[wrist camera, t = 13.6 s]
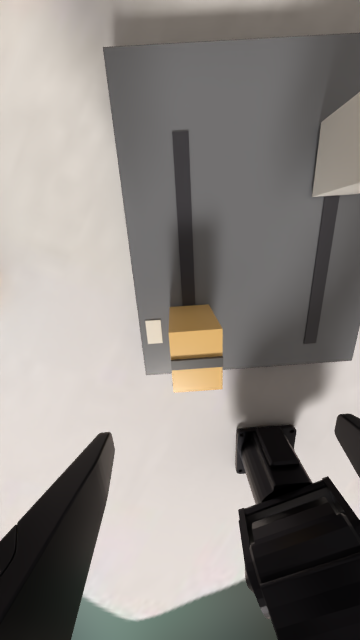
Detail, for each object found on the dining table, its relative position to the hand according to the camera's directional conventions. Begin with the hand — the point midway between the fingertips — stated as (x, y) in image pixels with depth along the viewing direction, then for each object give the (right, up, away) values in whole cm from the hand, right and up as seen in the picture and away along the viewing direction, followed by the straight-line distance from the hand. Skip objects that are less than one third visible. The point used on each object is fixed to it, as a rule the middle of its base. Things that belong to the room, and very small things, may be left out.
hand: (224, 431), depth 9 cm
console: (+4, +11, +9) cm, 15 cm away
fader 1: (-1, +4, +9) cm, 10 cm away
